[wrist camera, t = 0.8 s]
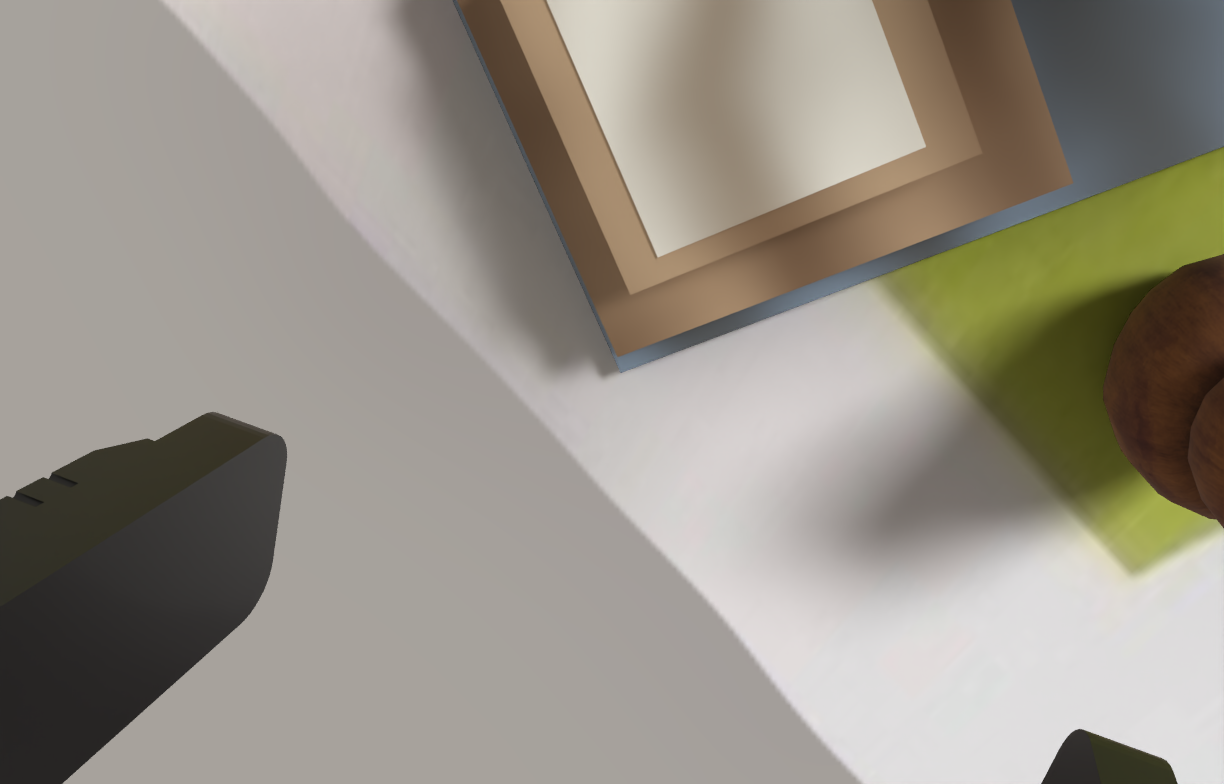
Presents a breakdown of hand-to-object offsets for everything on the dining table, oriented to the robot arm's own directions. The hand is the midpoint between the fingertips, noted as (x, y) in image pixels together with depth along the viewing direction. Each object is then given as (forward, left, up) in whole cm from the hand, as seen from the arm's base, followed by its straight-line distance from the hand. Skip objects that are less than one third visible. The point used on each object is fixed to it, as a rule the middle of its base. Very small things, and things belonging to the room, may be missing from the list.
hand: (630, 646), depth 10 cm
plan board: (-3, -6, -26) cm, 27 cm away
